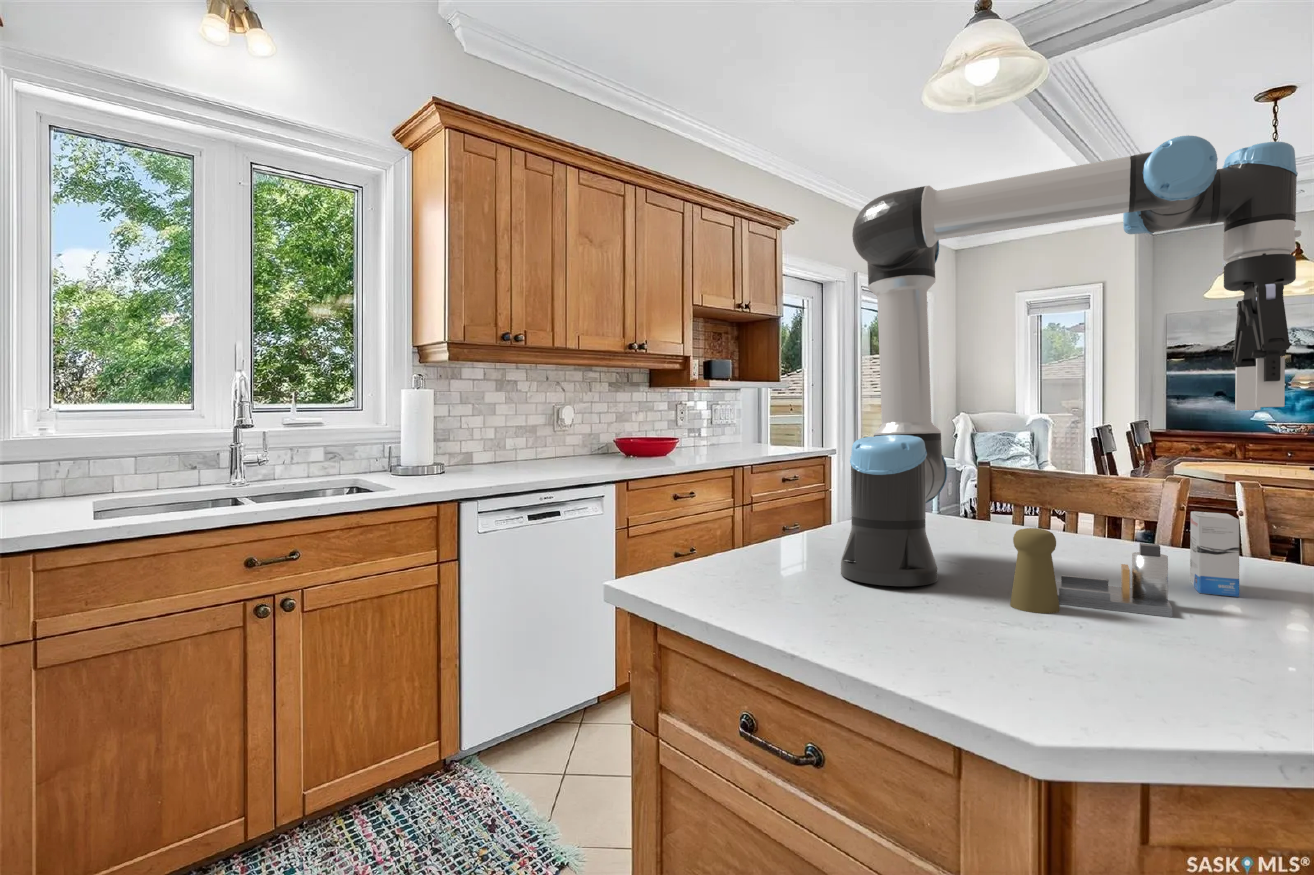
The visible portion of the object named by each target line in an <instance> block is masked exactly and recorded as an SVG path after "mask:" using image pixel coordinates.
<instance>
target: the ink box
mask: <svg viewBox="0 0 1314 875" xmlns="http://www.w3.org/2000/svg"><path fill="white" fill-rule="evenodd" d="M1189 543H1190V546H1189V547H1190V548H1189V549H1190V550H1189V563H1190V564H1189V581H1190V582H1191V583H1190V584H1192V586H1193V587H1194V589H1195V590H1196V591H1197V592H1198V593H1199V594H1202V595H1203V594H1204V595H1213V596H1221V597H1222V596H1223V597H1224V596H1225V597H1234V598H1239V597H1240V519H1239V518H1236V517H1234V516H1233V515H1231V514H1229V513H1221V512H1209V511H1208V512H1206V511H1205V512H1204V511H1195V510H1194V511H1190V542H1189Z"/></svg>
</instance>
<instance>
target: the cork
mask: <svg viewBox="0 0 1314 875" xmlns="http://www.w3.org/2000/svg"><path fill="white" fill-rule="evenodd" d="M1012 543H1013V547H1014V548H1015V550H1016V551H1017V555H1016V561H1015V562H1016V563H1015V568H1014V569H1015V570H1014V576H1013V582H1012V588H1011V590H1012V591H1011V595H1010V603H1009V606H1010V607H1011V608H1014V609H1015V610H1018V611H1023V612H1027V613H1028V612H1029V613H1033V614H1034V613H1035V614H1057V613H1060V611H1061V608H1060V604H1059V600H1058V594H1057V587H1056V581H1057V580H1056V575H1055V574H1056V573H1055V568H1054V567H1055V566H1054V562H1053V561H1054V560H1053V557H1052V556H1053V555H1052V554H1053V553H1054V551H1055V550H1056V548H1057V538H1056V536H1055V534H1054V533H1053V532H1051V531H1049V530H1046V529H1042V528H1035V527H1028V528H1027V527H1025V528H1019V529H1018V530H1016V531H1015V533H1014V534H1013V537H1012ZM1055 580H1056V581H1055Z"/></svg>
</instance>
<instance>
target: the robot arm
mask: <svg viewBox="0 0 1314 875" xmlns="http://www.w3.org/2000/svg"><path fill="white" fill-rule="evenodd" d="M1218 159H1219V158H1218V154H1217V151H1216V149H1215V147H1214V146H1213V144H1212V143H1211V142H1210V141H1209V140H1207V139H1205V138H1204V137H1201V136H1197V135H1189V134H1187V135H1181V136H1177V137H1172V138H1171V139H1168V140H1166V141H1165V142H1163V143H1161V144H1160V145H1159V146H1157V147H1156V148H1154V150H1153V151H1148V152H1144V153H1138V154H1134V155H1130V156H1129V155H1128V156H1124V157H1119V158H1118V157H1117V158H1113V159H1108V160H1107V159H1106V160H1101V161H1096V162H1090V163H1084V164H1079V165H1074V166H1068V167H1061V168H1057V169H1051V170H1050V169H1049V170H1046V171H1040V172H1035V173H1028V174H1023V175H1018V176H1017V175H1016V176H1012V177H1006V178H1000V179H995V180H989V181H984V182H978V183H972V184H966V185H962V186H955V187H951V188H945V189H939V190H936V189H934V188H933V187H932V186H931V185H924V186H918V187H913V188H907V189H902V190H898V191H893V192H889V193H886V194H883V195H881V196H878V197H876V198H874V199H872V200H870V202H868V203H867V204H865V206H864V207H863V208H862V209H861V210H860V212H859V213H858V215H857V216H856V218H855V220H854V223H853V226H852V236H851V237H852V242H853V245H854V246H853V247H854V248H855V251H856V252H857V254H858V256H860V257H861V259H863V260H864V261H866V263H867V283H868V284H867V285H868V290H869V291H870V292H871V293H873V294H874V295H875V297H876V298H877V325H878V353H879V354H878V355H879V356H878V357H879V382H880V384H879V385H880V386H879V387H880V388H879V389H880V410H881V411H880V412H881V414H880V415H881V424H880V426H879V427H878V428H877V429H876V430H875V431H874V432H873V436H865V437H862V438H859V439H855V441H854V442H853V444H852V446H851V455H850V457H849V458H850V459H849V463H850V476H851V477H850V480H851V482H850V485H851V486H850V487H851V489H850V490H851V492H850V494H851V495H850V496H851V498H850V500H851V503H850V504H851V506H850V508H851V512H850V513H851V514H850V515H851V528H850V533H849V535H848V539H847V542H846V545H845V547H844V550H843V554H842V556H841V560H840V575H841V576H842V577H843V578H845V579H847V580H851V581H855V582H858V583H864V584H869V585H878V586H885V587H887V586H888V587H889V586H891V587H918V586H927V585H932V584H935V583H937V581H938V565H937V562H936V559H935V556H934V553H933V551H932V547H931V545H930V541H929V539H928V535H927V531H926V530H927V528H926V507H927V505H926V504H927V503H930V502H931V501H933V500H934V499H935V498H937V496H939V494H941V492H942V490H943V488H945V485H946V483H947V478H948V466H947V465H948V464H947V461H946V460H945V456H944V455H943V453H942V452H943V451H942V450H943V449H942V432H941V430H940V429H939V428H938V427H936V426H935V424H934V423H933V421H932V402H931V401H932V400H931V398H932V396H931V375H930V369H931V368H930V344H929V343H930V342H929V341H930V340H929V317H928V316H929V315H928V311H929V310H928V291H929V290H930V288H931V287H932V286H933V285H934V284H936V263H937V261H938V258H939V255H940V241H939V240H947V239H954V238H961V237H966V236H974V235H982V234H988V233H996V232H1000V231H1009V230H1016V229H1017V230H1018V229H1023V228H1028V227H1029V228H1030V227H1036V226H1043V225H1049V224H1051V225H1052V224H1056V223H1057V224H1058V223H1065V222H1070V221H1072V222H1073V221H1079V220H1084V219H1091V218H1097V217H1105V216H1112V215H1120V214H1122V215H1123V217H1122V219H1123V222H1122V223H1123V224H1122V225H1123V231H1124V232H1125V234H1128V235H1139V234H1142V235H1143V234H1148V235H1149V234H1154V233H1159V232H1165V231H1171V230H1179V229H1185V228H1191V227H1198V226H1199V227H1200V226H1204V225H1213V224H1217V223H1218V224H1219V223H1223V228H1224V229H1223V237H1222V240H1223V242H1222V243H1223V244H1222V245H1223V249H1222V250H1223V252H1222V253H1223V261H1225V262H1227V263H1226V264H1225V265H1224V267H1223V288H1224V289H1225V290H1227V291H1230V292H1238V291H1239V292H1243V299H1241V300H1238V301H1237V303H1236V307H1237V308H1236V309H1237V310H1236V311H1237V312H1236V314H1237V315H1236V323H1235V324H1236V325H1235V326H1236V327H1235V335H1234V346H1233V355H1232V360H1231V362H1232V364H1233V365H1234V366H1235V391H1234V392H1235V394H1234V395H1235V397H1234V398H1235V402H1234V403H1235V406H1234V407H1235V408H1234V409H1235V411H1261V408H1284V407H1285V404H1286V402H1285V396H1286V394H1285V393H1286V391H1285V390H1286V388H1285V387H1286V386H1285V385H1286V384H1285V383H1286V382H1285V376H1286V374H1285V373H1286V366H1285V365H1286V354H1287V350H1288V351H1289V350H1290V348H1291V342H1290V338H1289V337H1290V336H1289V329H1288V322H1287V315H1286V307H1285V302H1284V301H1285V300H1284V288H1285V286H1287V285H1290V284H1293V282H1295V281H1296V280H1297V262H1296V261H1297V258H1296V256H1295V255H1293V254H1292V253H1293V252H1295V251H1296V238H1300V237H1301V236H1302V231H1301V229H1299V230H1297V229H1296V230H1295V227H1296V221H1297V220H1296V217H1297V215H1296V214H1297V183H1298V182H1297V180H1298V179H1297V178H1298V171H1297V164H1296V162H1297V161H1296V151H1295V147H1294V146H1293V145H1292V144H1291V143H1288V142H1284V141H1268V142H1260V143H1257V144H1252V145H1251V146H1248V147H1242V148H1239V149H1237V150H1235V151H1233V152H1232V153H1230V154H1228V155H1227V156H1226V157H1225V159H1224V161H1223V162H1224V163H1223V166H1222V168H1218Z"/></svg>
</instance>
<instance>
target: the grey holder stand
mask: <svg viewBox="0 0 1314 875" xmlns="http://www.w3.org/2000/svg"><path fill="white" fill-rule="evenodd" d="M1131 557H1132V558H1131V559H1132V560H1131V564H1132V565H1131V568H1132V569H1131V572H1132V573H1131V572H1130V567H1129V564H1127V563H1126V564H1125V563H1124V564H1123V563H1120V566H1121V567H1120V585H1121V586H1113V585H1109V579H1105V578H1096V577H1085V576H1076V575H1075V576H1074V575H1068V574H1067V575H1065V574H1061V575H1060V577H1061V578H1060V580H1056V579H1055V581H1056V587H1057V594H1058V600H1059V605H1066V606H1072V607H1073V606H1075V607H1082V608H1090V609H1098V610H1106V611H1115V612H1116V611H1117V612H1125V613H1132V614H1141V615H1150V616H1158V617H1165V618H1166V617H1167V618H1173V606H1172V605H1171V603H1170V600H1169V556H1168V555H1166V554H1162V553H1161V545H1160V544H1158V543H1144V542H1143V543H1142V542H1139V551H1138V552H1137V551H1136V552H1132V553H1131ZM1130 573H1131V574H1132V575H1131V577H1132V578H1130ZM1130 579H1131V580H1132V581H1131V580H1130ZM1130 581H1131V582H1132V583H1130ZM1130 584H1131V585H1132V586H1130Z"/></svg>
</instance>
